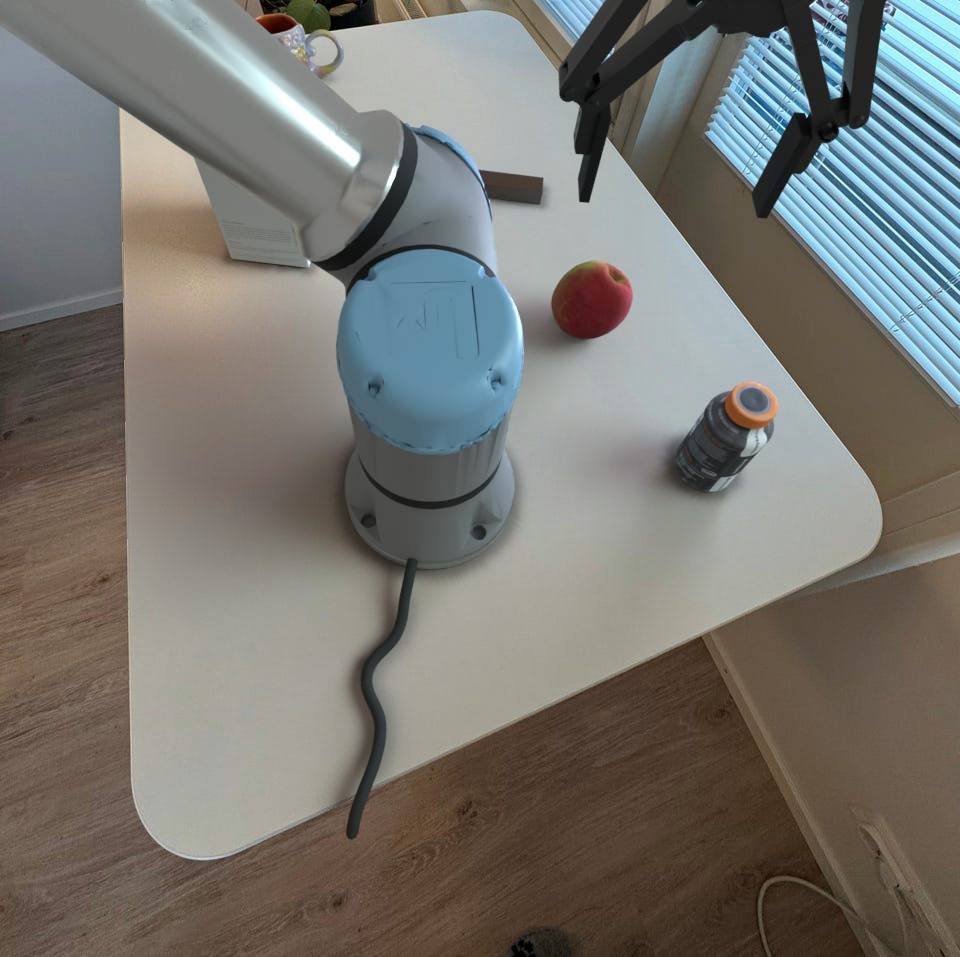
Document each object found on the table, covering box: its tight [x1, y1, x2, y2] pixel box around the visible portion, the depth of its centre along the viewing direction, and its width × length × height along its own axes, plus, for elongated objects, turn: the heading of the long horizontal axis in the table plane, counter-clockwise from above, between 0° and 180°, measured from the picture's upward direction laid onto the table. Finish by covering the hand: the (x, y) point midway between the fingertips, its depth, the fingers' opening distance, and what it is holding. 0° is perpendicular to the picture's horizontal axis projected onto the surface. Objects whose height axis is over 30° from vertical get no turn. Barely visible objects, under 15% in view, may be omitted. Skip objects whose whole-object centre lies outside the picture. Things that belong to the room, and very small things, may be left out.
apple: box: [550, 260, 634, 340], centre depth 65 cm, size 8×8×8 cm
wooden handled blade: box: [478, 169, 544, 205], centre depth 77 cm, size 23×3×2 cm, turn 85°
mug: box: [253, 12, 345, 78], centre depth 83 cm, size 12×7×7 cm, turn 92°
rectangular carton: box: [193, 157, 312, 269], centre depth 65 cm, size 9×9×15 cm
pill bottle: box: [673, 381, 779, 493], centre depth 57 cm, size 6×6×11 cm
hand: (671, 198), depth 48 cm, fingers open, 13 cm apart
